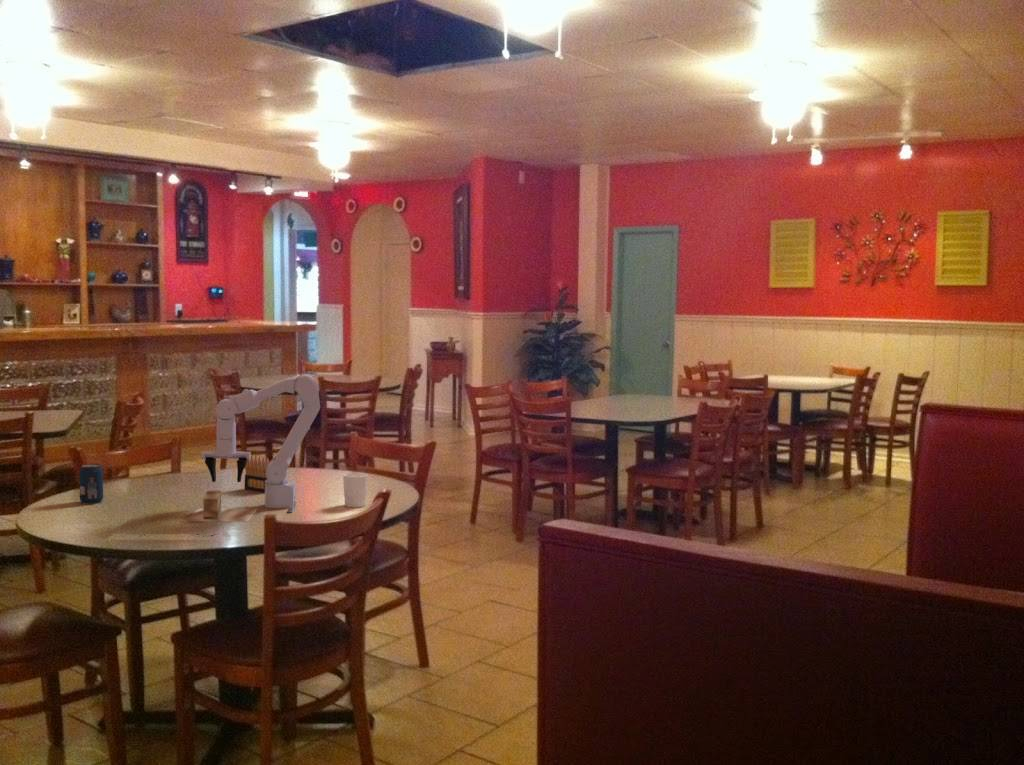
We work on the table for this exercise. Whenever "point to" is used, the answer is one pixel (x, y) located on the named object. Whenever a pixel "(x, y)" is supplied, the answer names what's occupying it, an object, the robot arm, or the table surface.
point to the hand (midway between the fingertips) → (226, 481)
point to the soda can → (91, 483)
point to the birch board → (224, 515)
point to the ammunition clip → (256, 474)
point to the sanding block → (212, 504)
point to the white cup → (355, 489)
